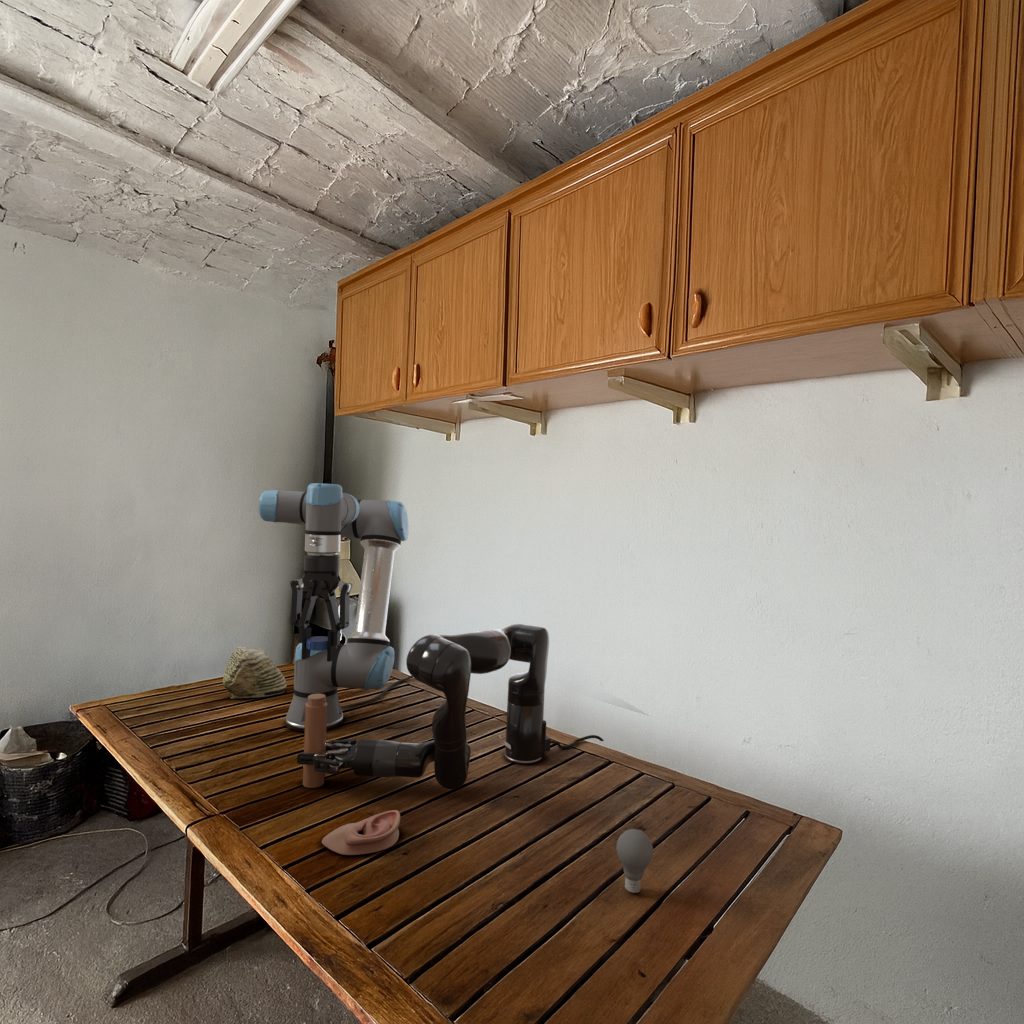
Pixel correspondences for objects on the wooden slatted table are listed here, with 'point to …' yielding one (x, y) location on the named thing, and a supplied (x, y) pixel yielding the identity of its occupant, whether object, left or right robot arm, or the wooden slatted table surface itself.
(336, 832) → the anatomical model
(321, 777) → the brown tube
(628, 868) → the light bulb
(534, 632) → the right robot arm
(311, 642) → the lid
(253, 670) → the fossil
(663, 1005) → the wooden slatted table surface
